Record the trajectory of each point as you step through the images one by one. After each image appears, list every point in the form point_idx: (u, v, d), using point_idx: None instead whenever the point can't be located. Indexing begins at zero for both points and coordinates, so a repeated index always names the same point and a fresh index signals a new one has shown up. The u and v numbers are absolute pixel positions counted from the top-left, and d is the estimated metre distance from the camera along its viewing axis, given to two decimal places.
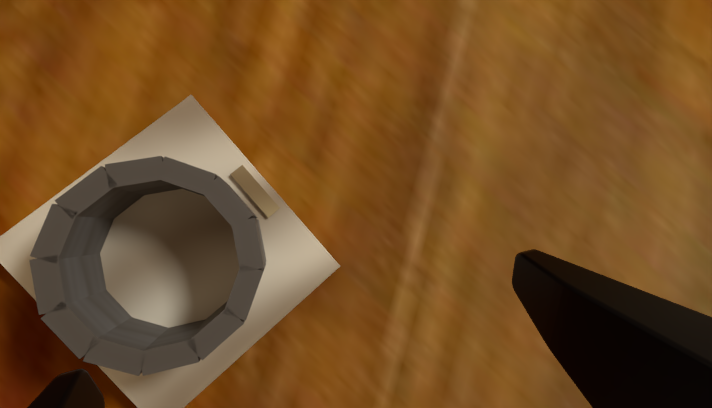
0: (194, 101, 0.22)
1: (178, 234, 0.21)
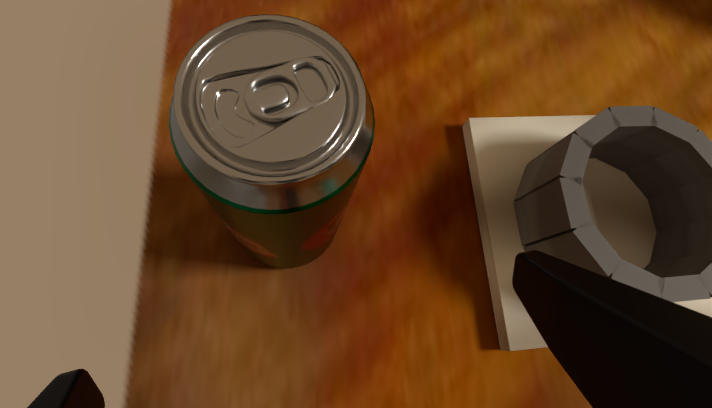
0: None
1: (606, 203, 0.22)
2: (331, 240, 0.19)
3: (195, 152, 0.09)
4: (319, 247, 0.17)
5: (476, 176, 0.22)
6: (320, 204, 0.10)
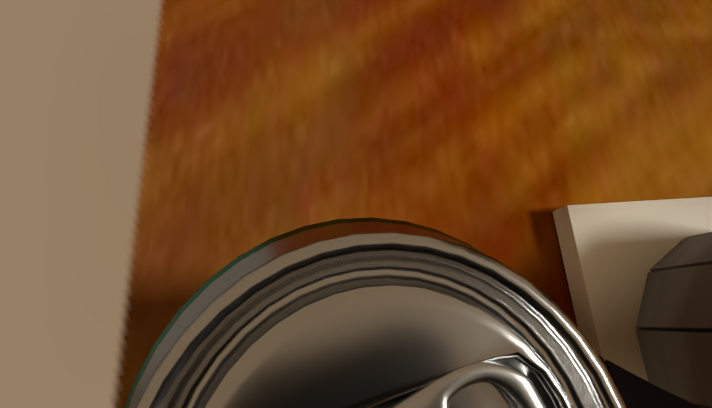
0: None
1: None
2: None
3: None
4: None
5: (580, 289, 0.16)
6: None
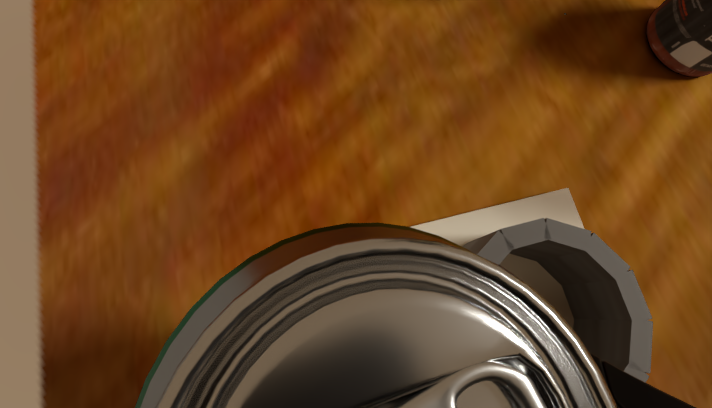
0: (569, 194, 0.24)
1: None
2: None
3: None
4: None
5: None
6: None
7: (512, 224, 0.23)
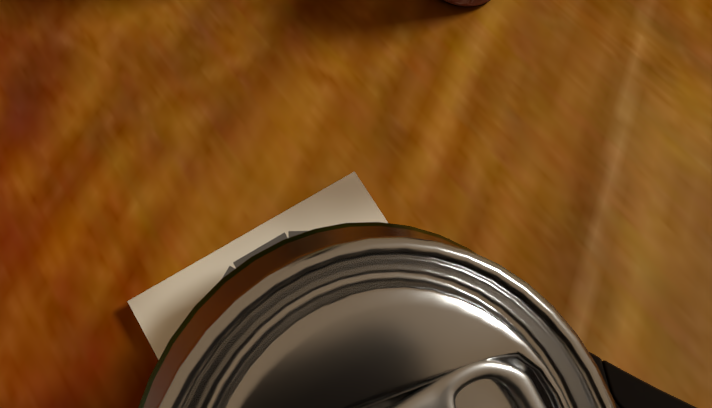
0: (356, 178, 0.21)
1: None
2: None
3: None
4: None
5: None
6: None
7: None
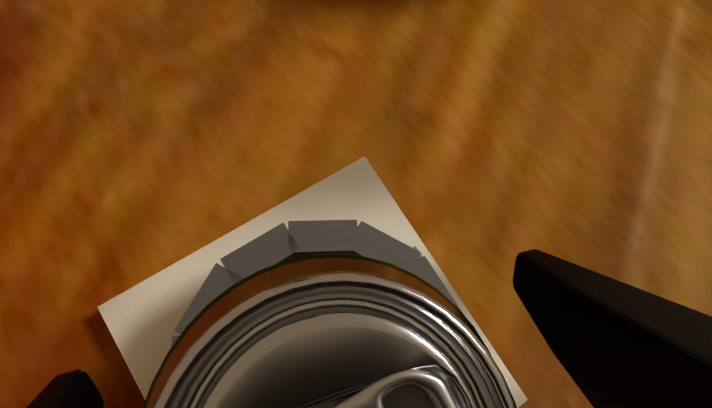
0: (367, 164, 0.18)
1: None
2: None
3: None
4: None
5: None
6: None
7: None
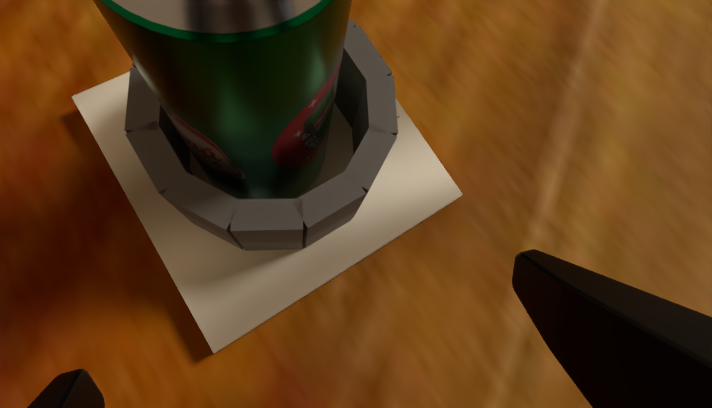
0: None
1: None
2: (315, 170, 0.16)
3: None
4: (298, 169, 0.14)
5: None
6: (280, 34, 0.07)
7: None
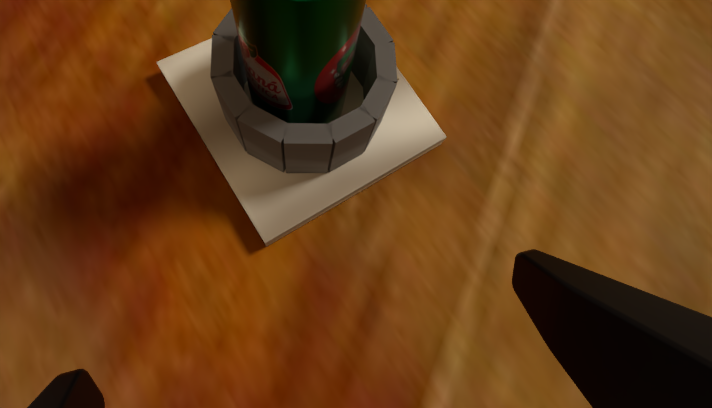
0: None
1: None
2: (337, 112, 0.22)
3: None
4: (328, 105, 0.20)
5: (185, 110, 0.23)
6: None
7: None
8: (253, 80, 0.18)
